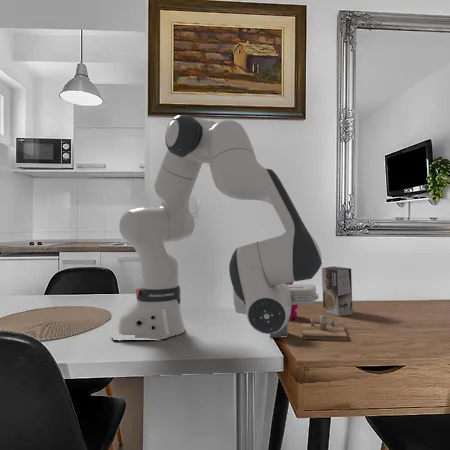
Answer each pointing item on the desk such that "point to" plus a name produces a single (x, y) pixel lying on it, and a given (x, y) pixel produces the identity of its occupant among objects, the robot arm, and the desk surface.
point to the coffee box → (337, 290)
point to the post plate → (324, 330)
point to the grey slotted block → (280, 332)
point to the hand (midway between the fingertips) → (275, 288)
